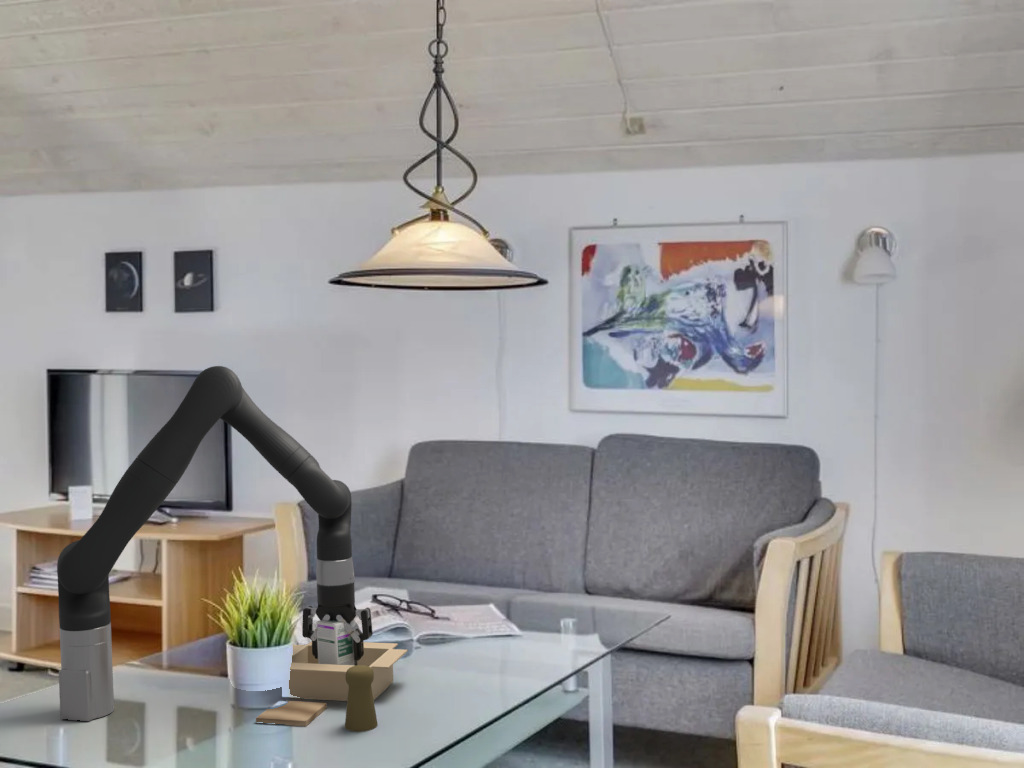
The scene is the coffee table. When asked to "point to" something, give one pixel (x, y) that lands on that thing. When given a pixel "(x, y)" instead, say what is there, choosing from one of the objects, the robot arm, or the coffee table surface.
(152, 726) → the coffee table surface
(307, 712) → the coaster
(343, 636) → the syrup box
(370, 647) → the carton
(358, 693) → the pepper shaker
